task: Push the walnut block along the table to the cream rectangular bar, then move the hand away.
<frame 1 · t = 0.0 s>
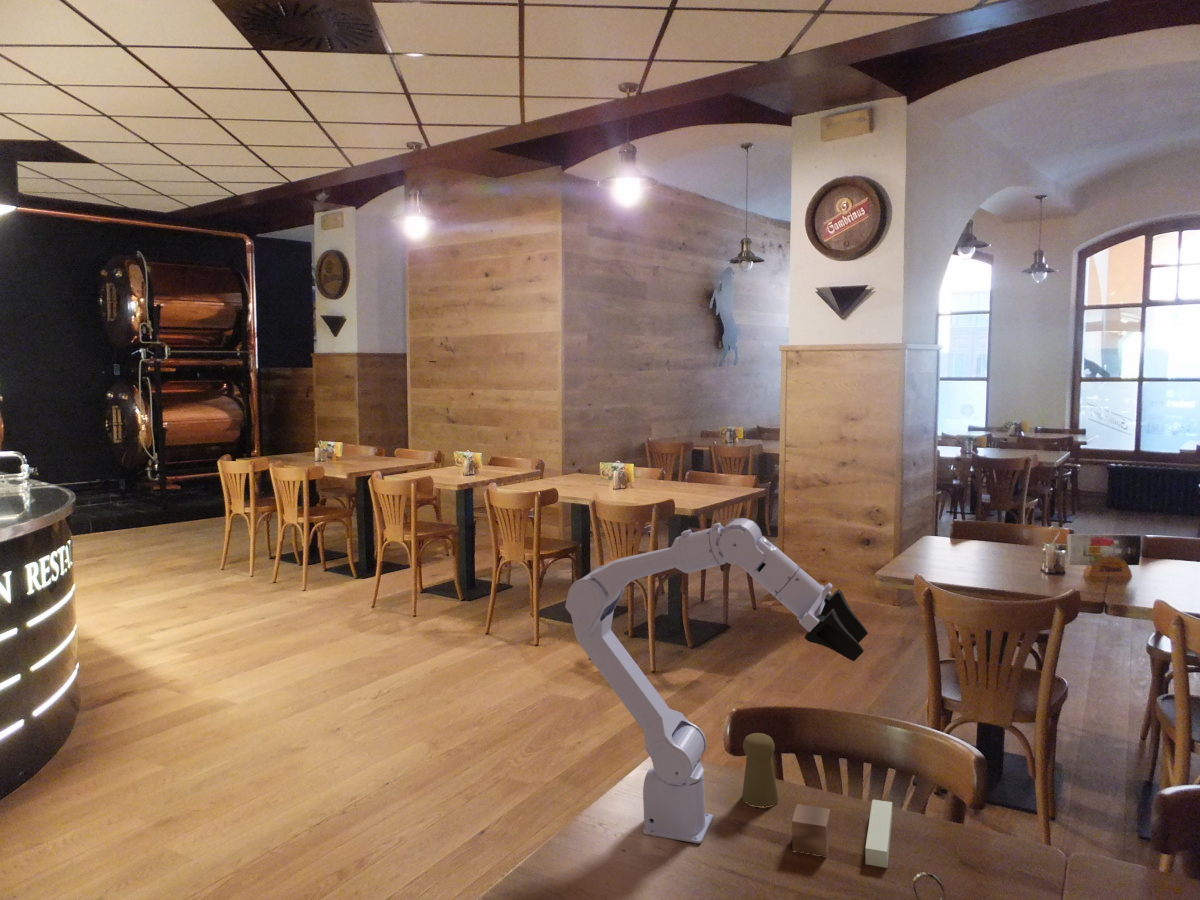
hand: (861, 646, 121), 32 cm above the table, tool tilted 50°, fingers open, 7 cm apart
walnut block: (811, 846, 128), on the table
cream rectangular bar: (879, 839, 129), on the table
cork: (760, 799, 142), on the table
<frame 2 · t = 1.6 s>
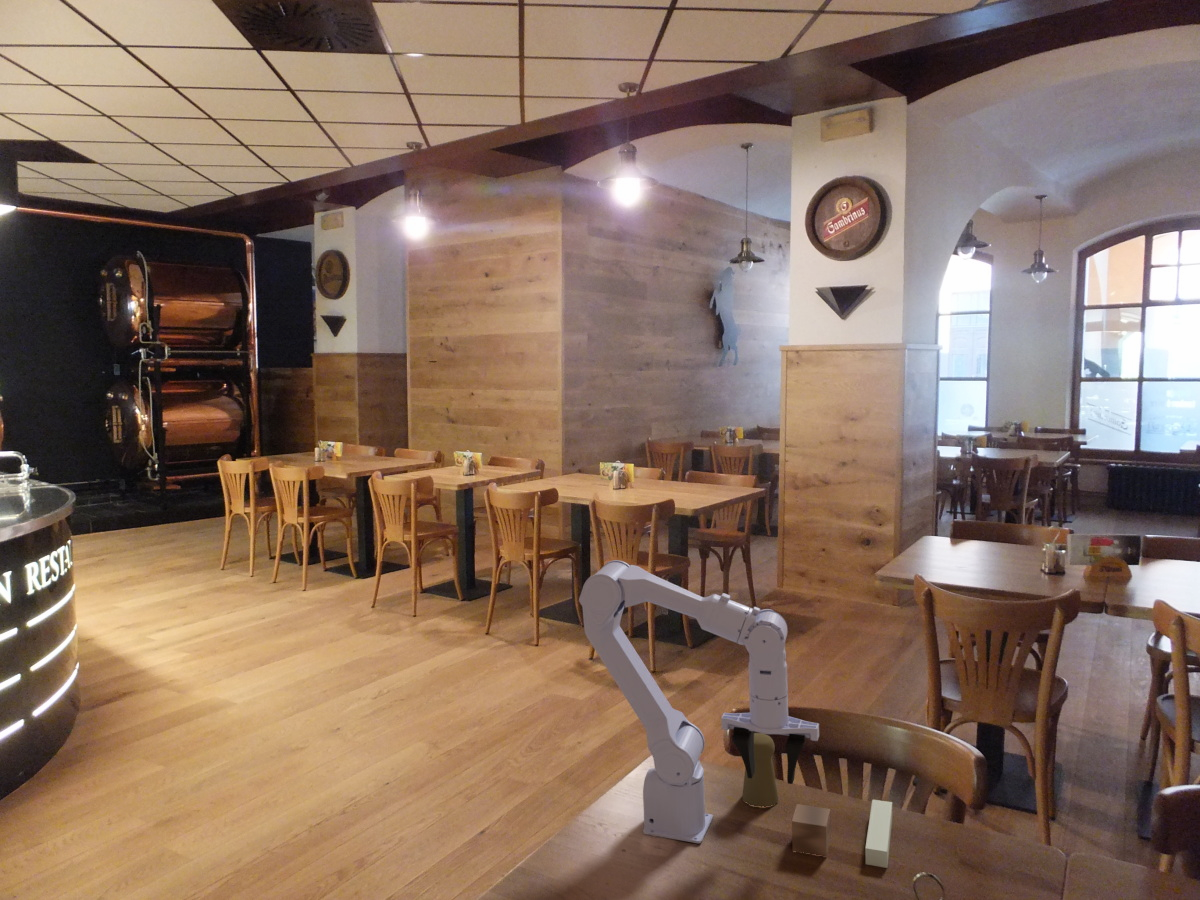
hand: (770, 777, 129), 10 cm above the table, tool pointing down, fingers open, 5 cm apart
nothing on the table moved.
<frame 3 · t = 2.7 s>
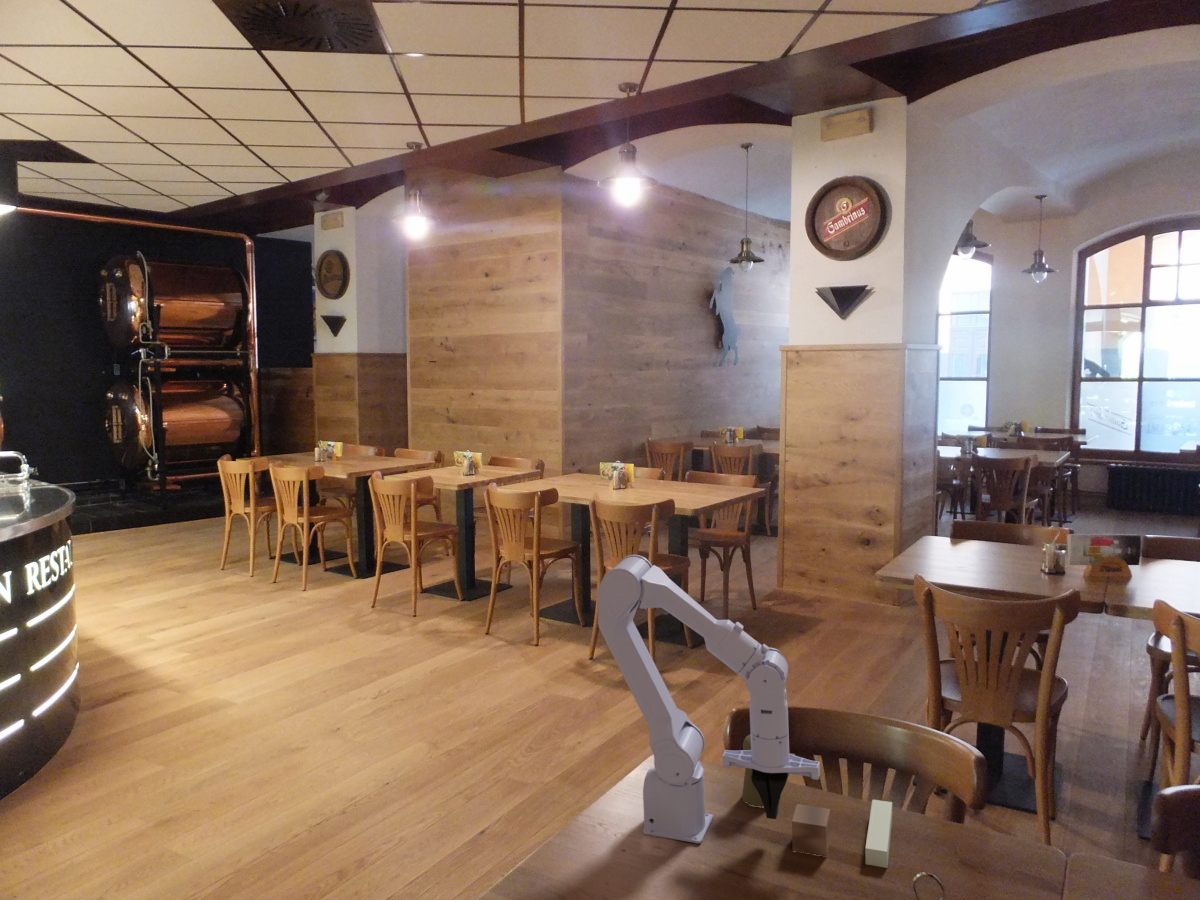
hand: (772, 815, 130), 4 cm above the table, tool pointing down, fingers closed
nothing on the table moved.
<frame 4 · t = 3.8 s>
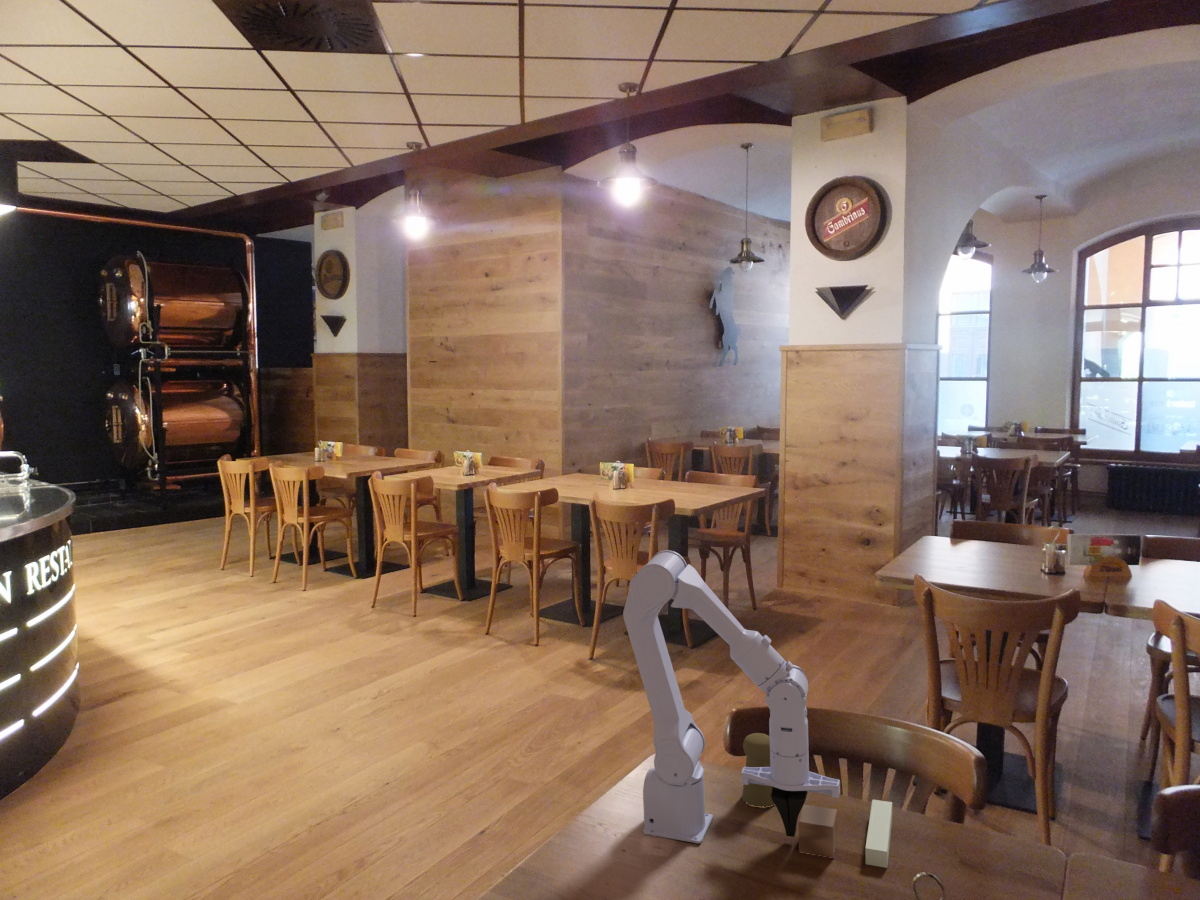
hand: (791, 832, 129), 1 cm above the table, tool pointing down, fingers closed
walnut block: (818, 846, 128), on the table, touching gripper
everything else where it was.
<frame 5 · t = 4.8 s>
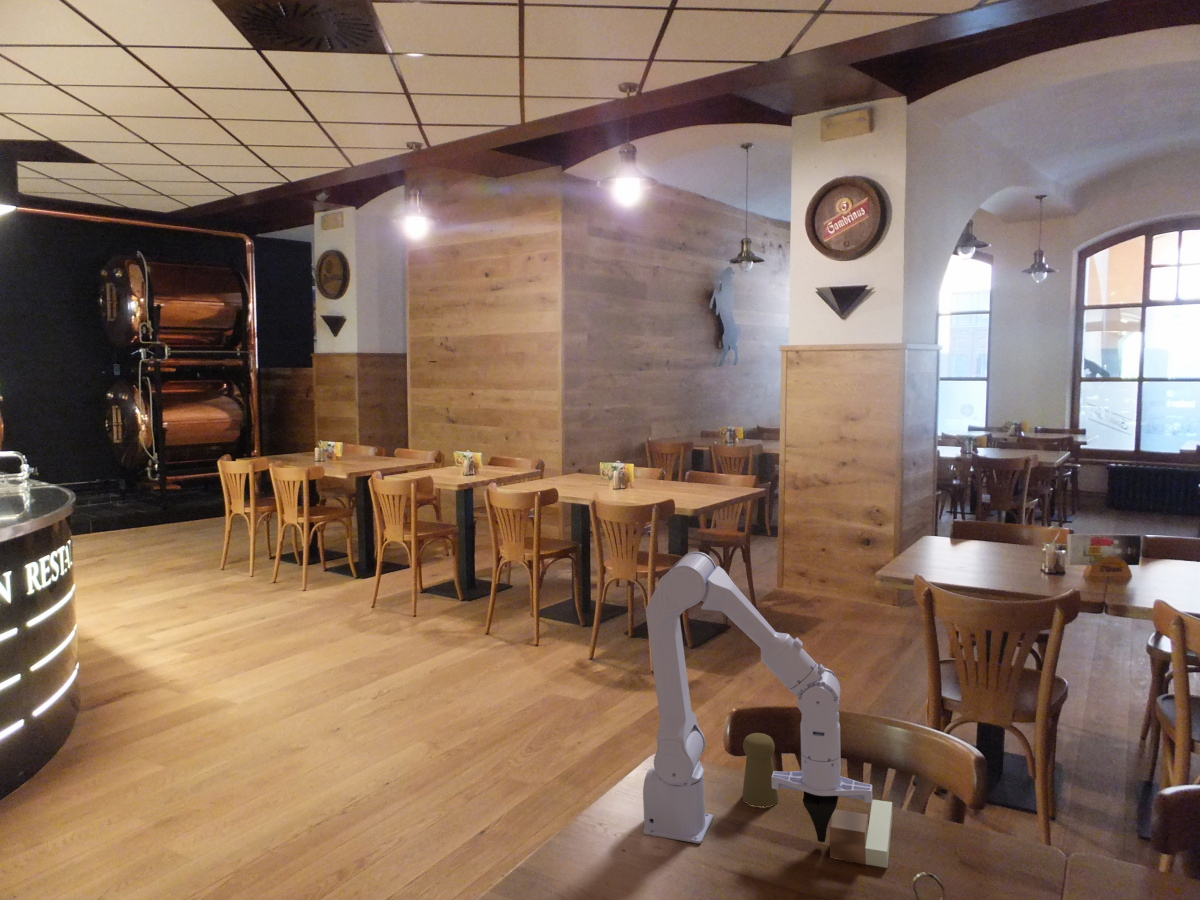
hand: (822, 838, 127), 1 cm above the table, tool pointing down, fingers closed
walnut block: (849, 851, 126), on the table, touching gripper, cream rectangular bar
everything else where it was.
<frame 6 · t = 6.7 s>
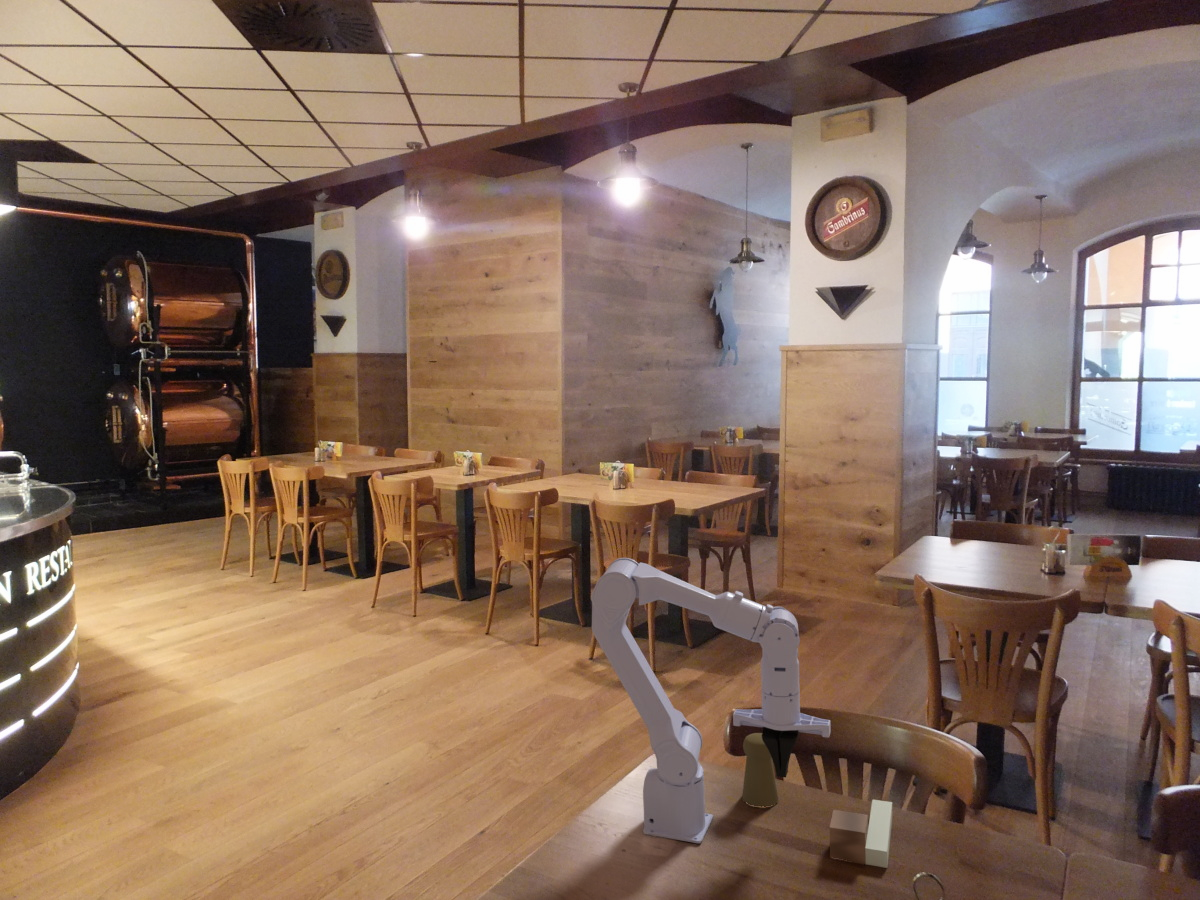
hand: (782, 773, 130), 10 cm above the table, tool pointing down, fingers closed
walnut block: (849, 852, 126), on the table
everything else where it was.
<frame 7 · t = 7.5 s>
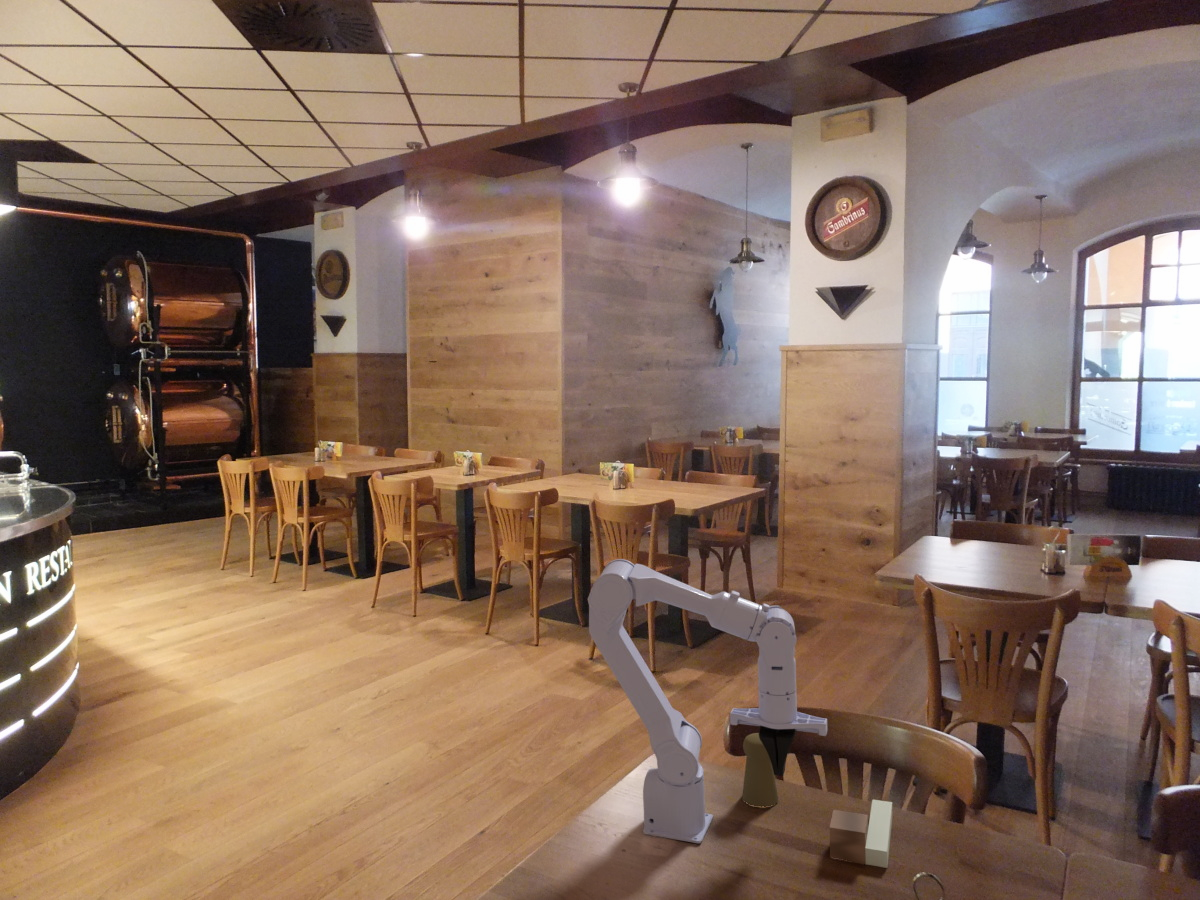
hand: (779, 772, 131), 10 cm above the table, tool pointing down, fingers closed
nothing on the table moved.
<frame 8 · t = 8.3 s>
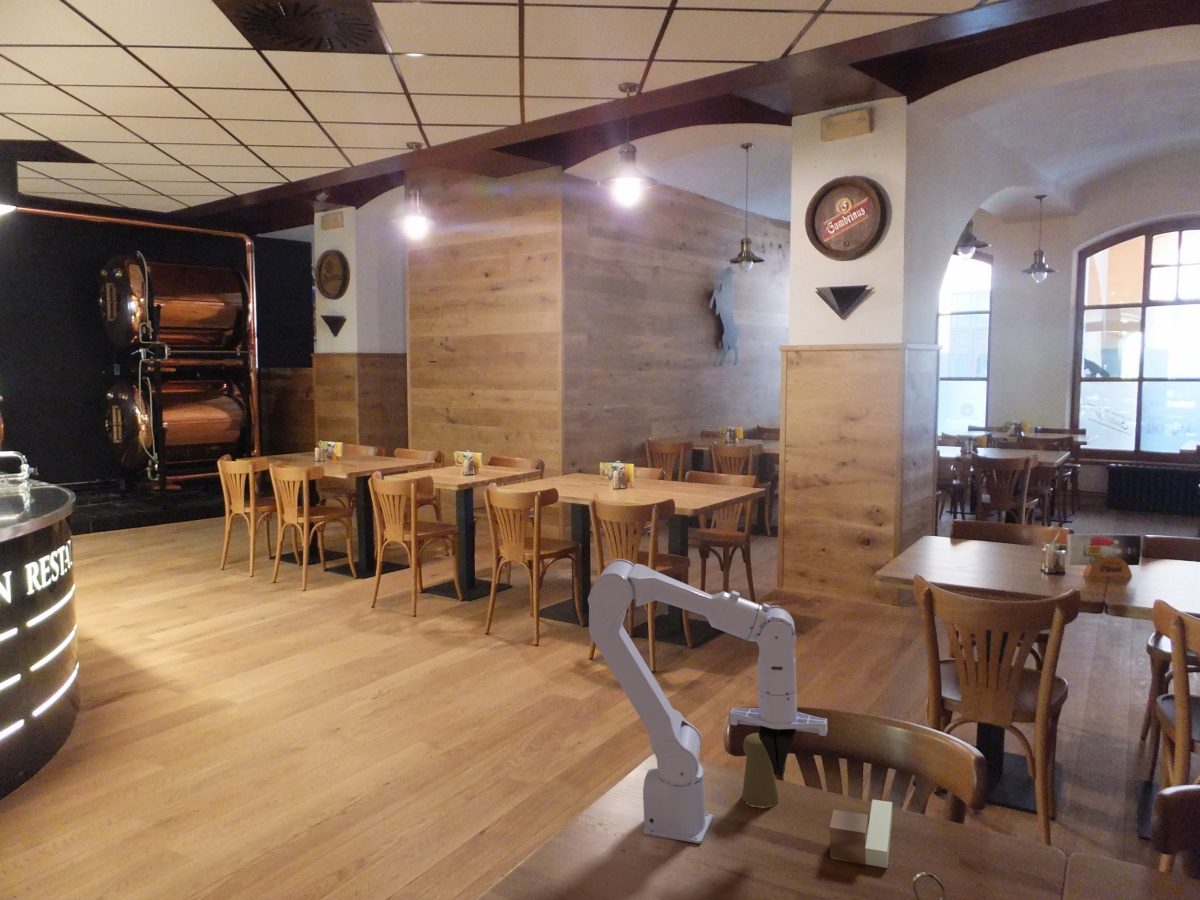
hand: (779, 772, 131), 10 cm above the table, tool pointing down, fingers closed
nothing on the table moved.
at the end: walnut block 0.3 cm from the target spot on the table beside the cream rectangular bar, on the table; walnut block tilted 0° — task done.
